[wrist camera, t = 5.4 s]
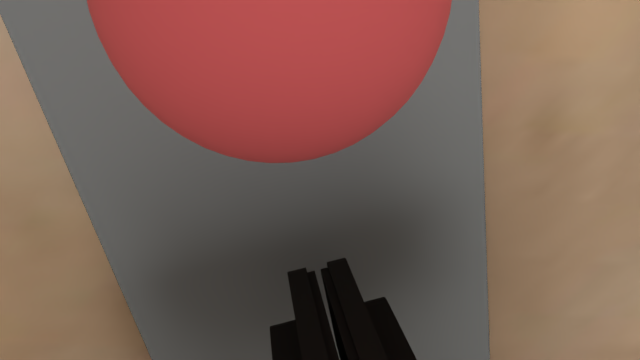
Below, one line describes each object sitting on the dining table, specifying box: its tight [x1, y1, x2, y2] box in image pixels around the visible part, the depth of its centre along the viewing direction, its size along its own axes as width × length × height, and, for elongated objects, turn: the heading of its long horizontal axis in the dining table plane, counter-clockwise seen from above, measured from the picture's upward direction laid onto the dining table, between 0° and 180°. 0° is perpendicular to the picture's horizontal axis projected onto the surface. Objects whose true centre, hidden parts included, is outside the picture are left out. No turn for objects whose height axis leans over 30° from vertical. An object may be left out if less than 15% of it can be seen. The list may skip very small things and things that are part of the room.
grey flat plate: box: [0, 0, 490, 360], centre depth 11 cm, size 24×11×1 cm, turn 10°
